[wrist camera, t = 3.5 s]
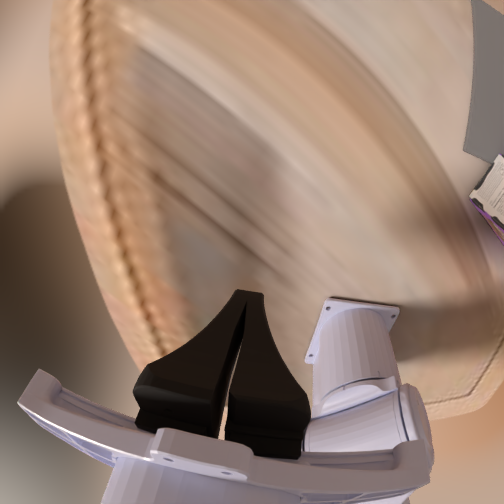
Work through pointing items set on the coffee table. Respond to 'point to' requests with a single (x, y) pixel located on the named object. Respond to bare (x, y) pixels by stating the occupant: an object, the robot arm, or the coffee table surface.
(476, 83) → the mat
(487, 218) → the candy box
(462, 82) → the coffee table surface
